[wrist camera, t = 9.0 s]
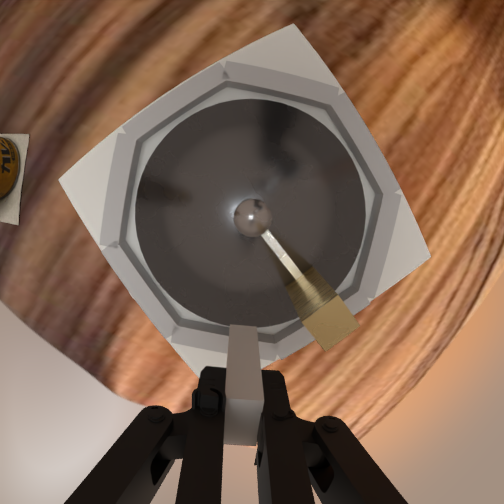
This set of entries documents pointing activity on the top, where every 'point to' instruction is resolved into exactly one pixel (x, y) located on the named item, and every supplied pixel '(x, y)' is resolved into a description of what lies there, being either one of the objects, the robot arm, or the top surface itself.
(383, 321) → the top surface
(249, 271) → the dial
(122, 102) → the top surface
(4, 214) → the condiment
